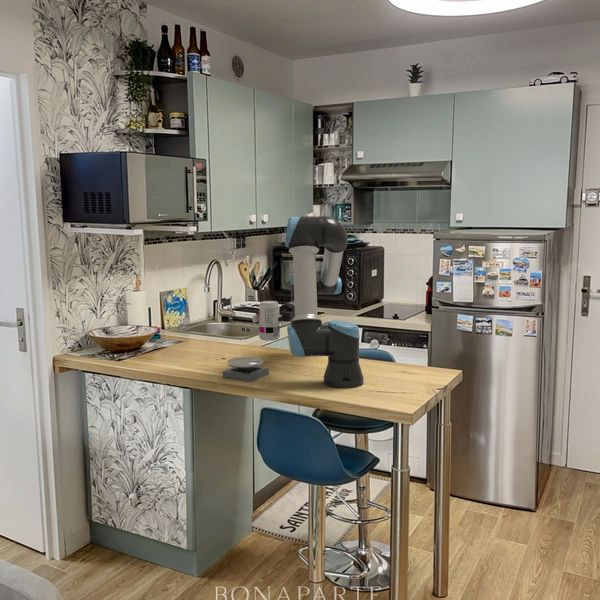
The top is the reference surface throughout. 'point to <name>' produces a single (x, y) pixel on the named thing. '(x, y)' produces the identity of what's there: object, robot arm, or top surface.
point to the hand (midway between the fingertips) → (263, 319)
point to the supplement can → (268, 320)
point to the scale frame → (238, 375)
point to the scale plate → (245, 363)
